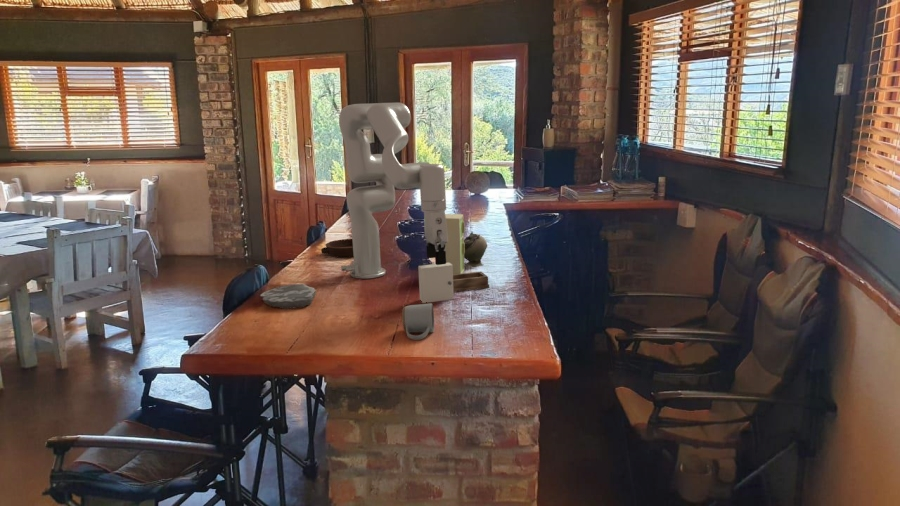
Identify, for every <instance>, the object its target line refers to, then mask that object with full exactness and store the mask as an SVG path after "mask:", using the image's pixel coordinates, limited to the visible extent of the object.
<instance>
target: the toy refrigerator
mask: <svg viewBox="0 0 900 506" xmlns="http://www.w3.org/2000/svg"><path fill="white" fill-rule="evenodd" d="M445 216H446V224H447V234H448V242H447V243H445V249H446V263H451V264H452V265H453V275H454V274H463V273H465V258H464V253H465V243H464V240H465V237H464V236H465V234H464V233H465V232H466V230H465V221H464V214H462V213H455V214H454V213H453V214H452V213H445Z"/></svg>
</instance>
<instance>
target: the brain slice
mask: <svg viewBox="0 0 900 506" xmlns="http://www.w3.org/2000/svg"><path fill="white" fill-rule="evenodd" d="M316 293H317V291H316V289H315V287H312V286H308V285H307V284H305V283H295V284H286V285H279V286H277V287H274V288H271V289H267V290H266V291H264V292H262V293H261V294H259V296H260V297H261V299H262V300H263V302H264V304H266V305H268V306H270V305H271V306H270V307H272V306H274V307H273V308H276V307H280V309H294V308H293V307H296V308H304V307H303V306H305V307H307V306H306V305H308V306H310V305H311V304H312V302H313V300H314V298H315V297H316V295H317V294H316Z"/></svg>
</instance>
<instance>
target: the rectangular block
mask: <svg viewBox="0 0 900 506" xmlns="http://www.w3.org/2000/svg"><path fill="white" fill-rule="evenodd" d="M417 268H418V286H419V301H420V300H421V301H422V302H421V301H420V302H421V303H422V304H427V303H436V302H441V301H443V302H444V301H451V300H454V298H455V297H454V293H455V292H453V265H452V264H451V263H446V264H441V265H436V264H435V263H432V264H424V265H418V267H417ZM426 302H427V303H426Z"/></svg>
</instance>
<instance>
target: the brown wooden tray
mask: <svg viewBox="0 0 900 506" xmlns="http://www.w3.org/2000/svg"><path fill="white" fill-rule="evenodd" d="M481 289H490V284H489V276H488V275H486V274H485V273H484V272H483V271H472V272H463V274H454V275H453V292H454V293H455V292H456V293H457V292H464V291H472V290H473V291H474V290H481Z"/></svg>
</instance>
